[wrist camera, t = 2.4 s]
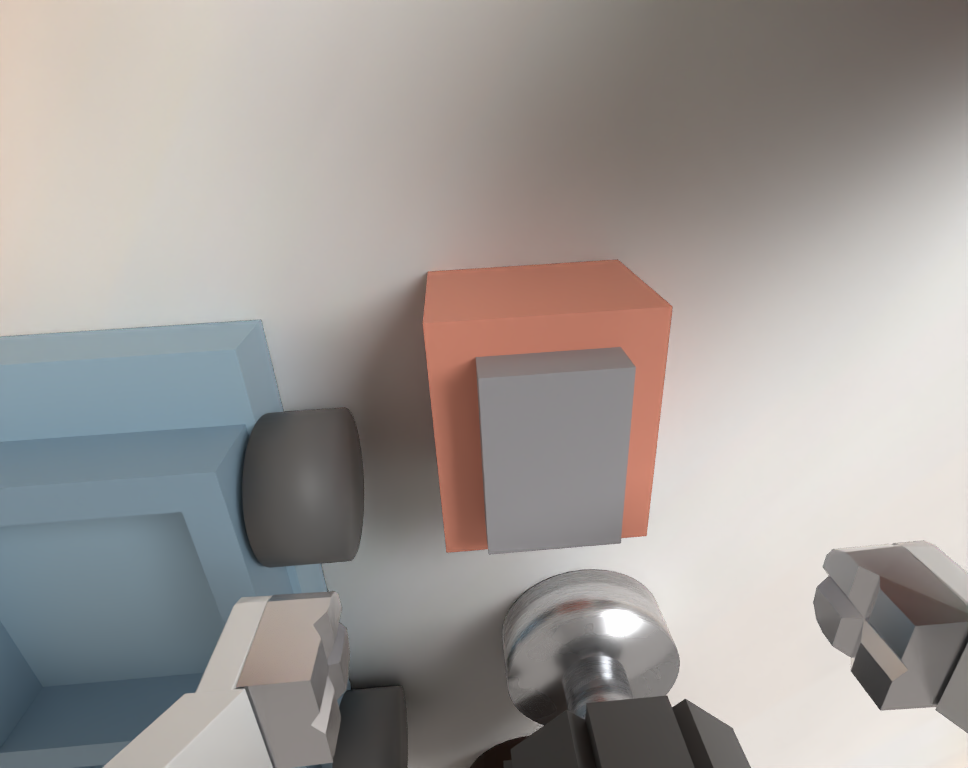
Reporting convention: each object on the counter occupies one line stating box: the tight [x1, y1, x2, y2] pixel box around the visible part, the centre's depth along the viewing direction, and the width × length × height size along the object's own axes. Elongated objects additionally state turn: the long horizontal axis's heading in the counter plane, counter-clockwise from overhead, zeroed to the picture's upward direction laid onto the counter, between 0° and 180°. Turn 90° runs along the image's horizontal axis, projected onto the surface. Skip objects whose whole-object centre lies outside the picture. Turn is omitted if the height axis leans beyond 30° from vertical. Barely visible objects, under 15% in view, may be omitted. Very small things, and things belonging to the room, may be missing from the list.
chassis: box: [0, 320, 408, 768], centre depth 17 cm, size 20×14×4 cm
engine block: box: [423, 260, 672, 554], centre depth 14 cm, size 6×5×5 cm
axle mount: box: [502, 570, 680, 725], centre depth 19 cm, size 6×6×5 cm
